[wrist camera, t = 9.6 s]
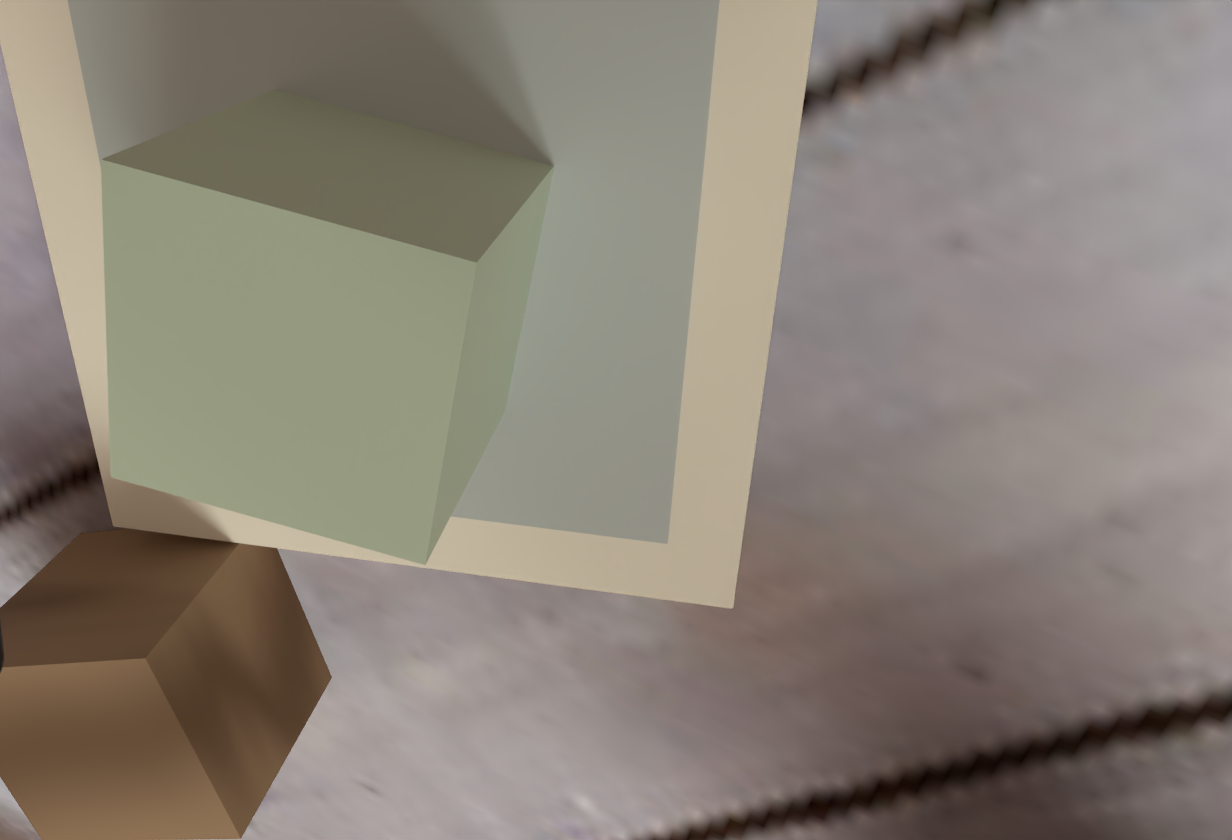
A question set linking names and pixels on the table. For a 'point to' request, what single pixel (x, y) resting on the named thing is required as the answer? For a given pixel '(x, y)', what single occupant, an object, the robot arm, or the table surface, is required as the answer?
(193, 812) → the walnut cube
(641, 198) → the tray
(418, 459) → the sage cube
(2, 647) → the robot arm
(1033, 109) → the table surface
